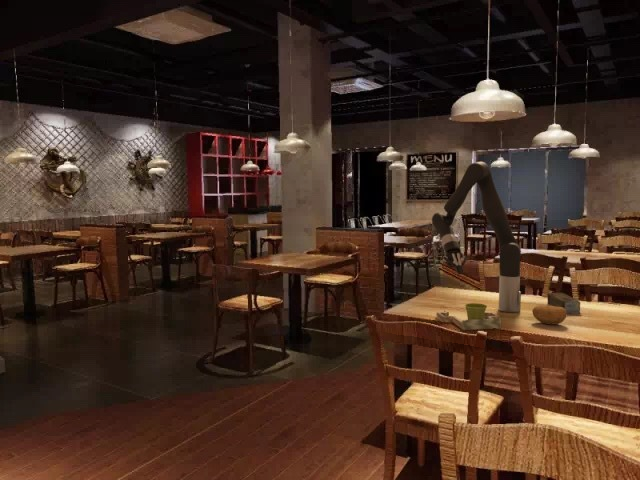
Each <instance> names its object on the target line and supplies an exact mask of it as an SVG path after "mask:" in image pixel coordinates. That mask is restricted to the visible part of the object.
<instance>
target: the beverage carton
mask: <svg viewBox="0 0 640 480" xmlns="http://www.w3.org/2000/svg"><path fill="white" fill-rule="evenodd" d="M547 305H548V306H555V307H562V308H564V309H565V310H566V312H567V314H580V313H581V302H580V301H579V300H578V299H575V298H574V297H571V296H570V295H568V294H566V293H564V292H548V293H547Z"/></svg>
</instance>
